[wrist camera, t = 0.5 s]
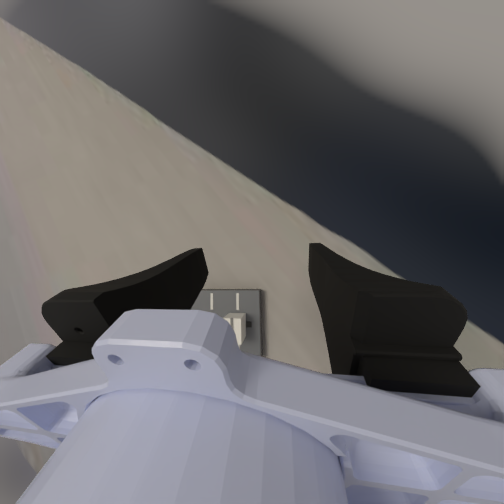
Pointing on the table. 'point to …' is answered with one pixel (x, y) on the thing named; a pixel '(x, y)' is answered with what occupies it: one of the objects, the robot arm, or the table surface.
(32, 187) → the table surface
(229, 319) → the fader
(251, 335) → the panel
